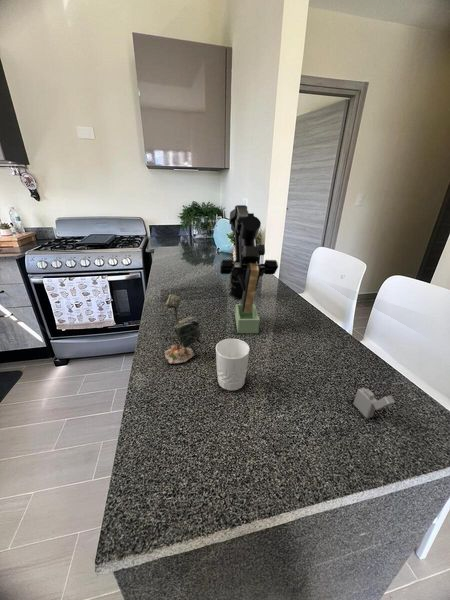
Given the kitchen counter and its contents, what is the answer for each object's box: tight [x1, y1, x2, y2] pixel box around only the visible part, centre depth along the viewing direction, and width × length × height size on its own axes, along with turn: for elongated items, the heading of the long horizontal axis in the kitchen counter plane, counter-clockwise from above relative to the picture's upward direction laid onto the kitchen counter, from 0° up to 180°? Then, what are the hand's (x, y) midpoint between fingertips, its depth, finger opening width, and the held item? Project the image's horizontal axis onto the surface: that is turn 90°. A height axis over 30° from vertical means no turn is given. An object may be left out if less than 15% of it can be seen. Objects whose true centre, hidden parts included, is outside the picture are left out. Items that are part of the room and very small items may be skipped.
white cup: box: [215, 338, 250, 391], centre depth 60 cm, size 8×8×10 cm
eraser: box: [240, 263, 259, 313], centre depth 81 cm, size 3×6×15 cm, turn 0°
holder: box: [234, 303, 261, 334], centre depth 86 cm, size 11×7×5 cm, turn 2°
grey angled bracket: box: [352, 387, 396, 419], centre depth 52 cm, size 7×2×8 cm, turn 15°
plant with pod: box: [163, 293, 203, 365], centre depth 67 cm, size 8×11×20 cm
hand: (249, 290), depth 80 cm, fingers closed on eraser, 3 cm apart
